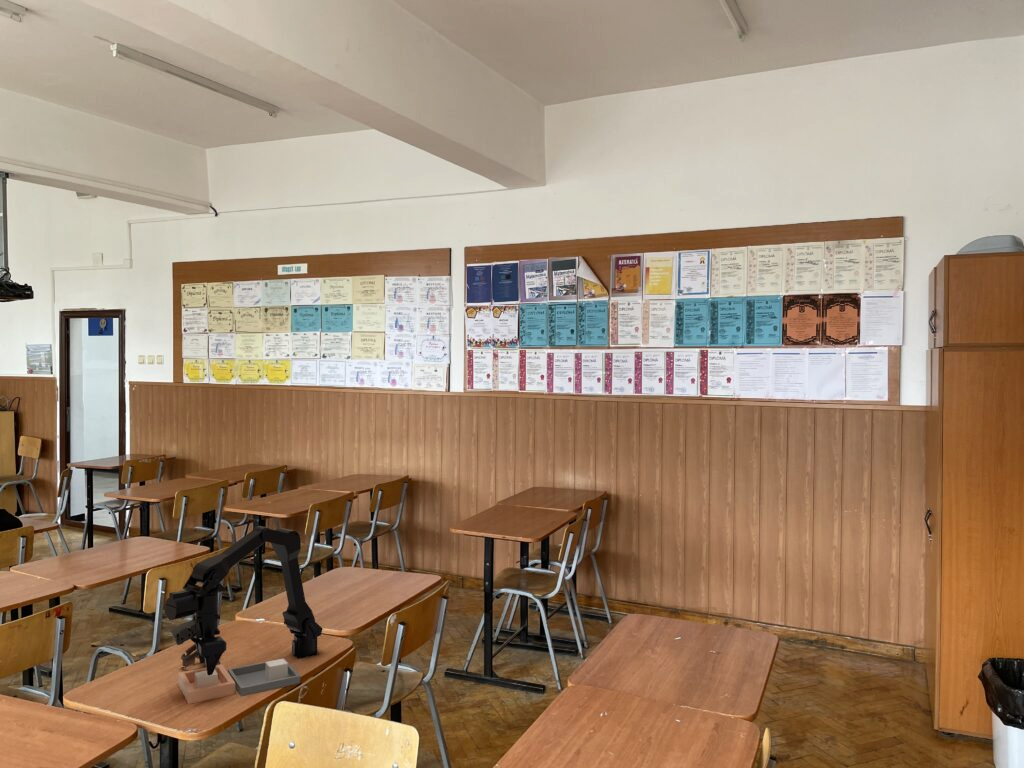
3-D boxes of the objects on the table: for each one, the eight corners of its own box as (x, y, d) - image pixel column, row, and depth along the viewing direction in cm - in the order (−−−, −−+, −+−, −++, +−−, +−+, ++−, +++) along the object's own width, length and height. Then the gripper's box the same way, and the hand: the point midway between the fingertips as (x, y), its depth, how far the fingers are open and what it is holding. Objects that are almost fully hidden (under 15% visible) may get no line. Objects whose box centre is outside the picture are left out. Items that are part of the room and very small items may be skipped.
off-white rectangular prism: (283, 672, 212) (283, 658, 212) (287, 677, 209) (287, 663, 209) (265, 676, 209) (265, 662, 209) (269, 681, 206) (269, 667, 206)
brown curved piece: (215, 676, 212) (199, 652, 210) (187, 687, 213) (171, 665, 211) (232, 649, 223) (217, 627, 221) (205, 661, 225) (190, 639, 223)
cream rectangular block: (214, 683, 204) (214, 669, 204) (217, 689, 200) (217, 674, 200) (194, 687, 201) (194, 672, 201) (197, 693, 198) (197, 678, 198)
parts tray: (283, 667, 217) (284, 658, 217) (300, 685, 205) (300, 675, 205) (227, 678, 209) (227, 669, 209) (241, 698, 197) (241, 688, 197)
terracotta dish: (222, 676, 210) (222, 664, 210) (235, 696, 198) (235, 682, 198) (177, 685, 203) (178, 672, 203) (188, 706, 192) (188, 692, 191)
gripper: (167, 605, 203) (166, 663, 204) (180, 626, 188) (179, 688, 188) (211, 599, 210) (210, 655, 210) (227, 618, 194) (226, 678, 194)
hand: (206, 668), depth 200 cm, fingers open, 9 cm apart
